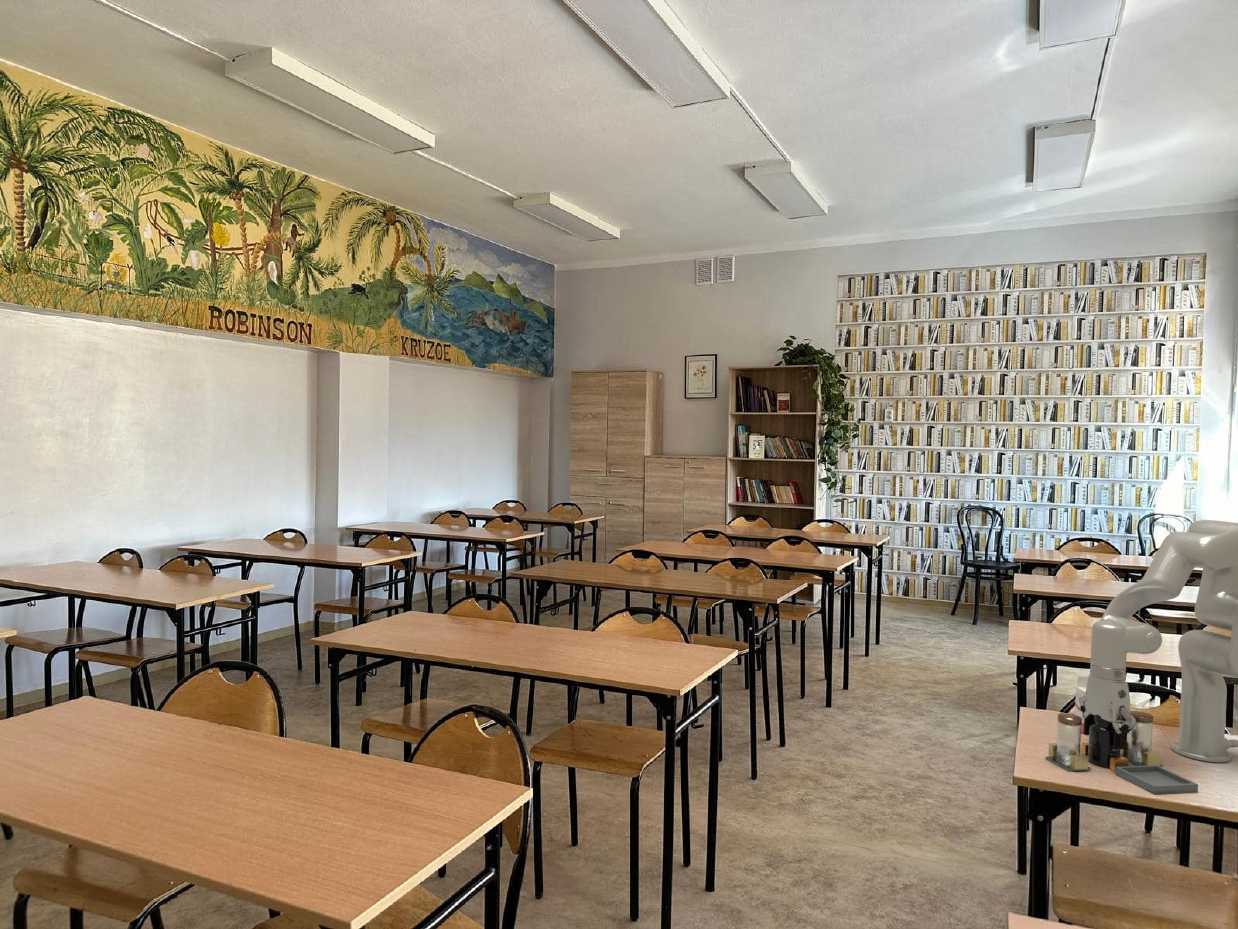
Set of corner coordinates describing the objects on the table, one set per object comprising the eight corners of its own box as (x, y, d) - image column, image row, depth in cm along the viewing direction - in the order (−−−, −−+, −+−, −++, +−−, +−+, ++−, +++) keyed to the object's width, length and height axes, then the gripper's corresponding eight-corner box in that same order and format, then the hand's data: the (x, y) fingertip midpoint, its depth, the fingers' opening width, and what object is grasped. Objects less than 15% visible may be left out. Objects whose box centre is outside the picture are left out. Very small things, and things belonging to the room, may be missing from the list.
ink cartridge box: (1081, 734, 226) (1083, 680, 225) (1073, 728, 231) (1075, 675, 230) (1114, 736, 225) (1117, 682, 225) (1105, 730, 230) (1108, 677, 230)
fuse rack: (1131, 753, 212) (1134, 707, 212) (1167, 769, 201) (1169, 721, 201) (1041, 756, 208) (1043, 709, 207) (1072, 774, 197) (1075, 724, 196)
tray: (1156, 772, 199) (1157, 765, 199) (1197, 792, 188) (1198, 784, 188) (1115, 774, 197) (1115, 767, 197) (1154, 794, 186) (1154, 786, 186)
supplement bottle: (1120, 770, 200) (1122, 721, 200) (1087, 764, 203) (1090, 716, 203) (1119, 761, 206) (1121, 713, 206) (1087, 756, 209) (1089, 708, 209)
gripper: (1149, 682, 196) (1146, 754, 197) (1094, 663, 213) (1091, 729, 214) (1121, 683, 195) (1118, 755, 195) (1069, 663, 212) (1066, 730, 212)
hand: (1104, 741), depth 204 cm, fingers open, 9 cm apart
